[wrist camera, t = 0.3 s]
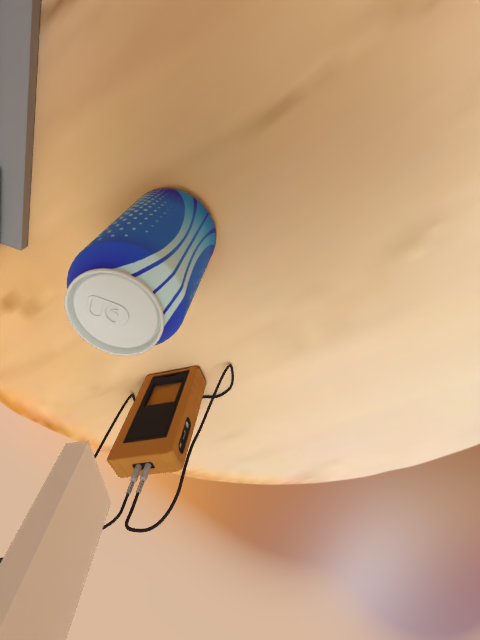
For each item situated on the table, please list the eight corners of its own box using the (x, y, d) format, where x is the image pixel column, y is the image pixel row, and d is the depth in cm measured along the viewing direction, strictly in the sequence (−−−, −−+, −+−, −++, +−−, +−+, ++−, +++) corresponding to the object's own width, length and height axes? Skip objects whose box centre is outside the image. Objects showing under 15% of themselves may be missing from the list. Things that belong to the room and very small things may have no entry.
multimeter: (153, 432, 57) (92, 590, 40) (120, 378, 52) (36, 532, 35) (254, 418, 53) (233, 586, 36) (229, 358, 48) (192, 520, 31)
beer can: (186, 166, 37) (121, 232, 23) (234, 245, 40) (202, 341, 27) (116, 210, 40) (23, 290, 26) (166, 280, 43) (107, 381, 30)
